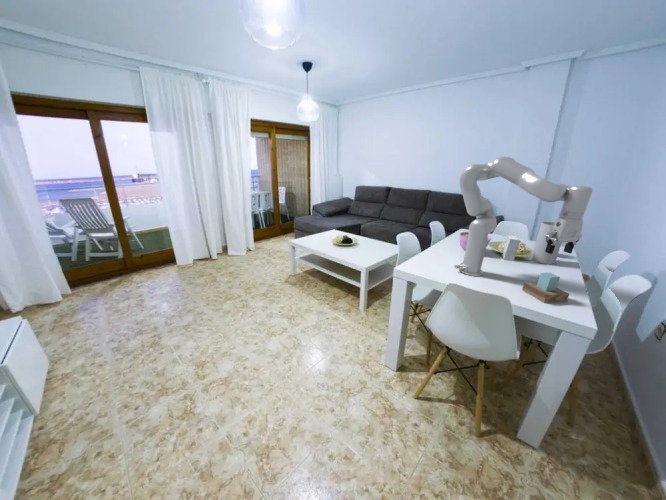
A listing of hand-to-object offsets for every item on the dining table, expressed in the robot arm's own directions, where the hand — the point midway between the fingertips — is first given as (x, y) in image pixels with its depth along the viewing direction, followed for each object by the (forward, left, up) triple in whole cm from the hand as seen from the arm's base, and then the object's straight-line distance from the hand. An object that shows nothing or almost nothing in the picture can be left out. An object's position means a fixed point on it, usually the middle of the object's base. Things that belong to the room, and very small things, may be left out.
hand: (557, 252), depth 114 cm
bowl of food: (+7, +63, -22) cm, 67 cm away
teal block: (0, 0, -18) cm, 18 cm away
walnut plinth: (0, 0, -22) cm, 22 cm away
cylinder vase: (+42, +41, -22) cm, 63 cm away
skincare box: (+22, +47, -22) cm, 56 cm away
